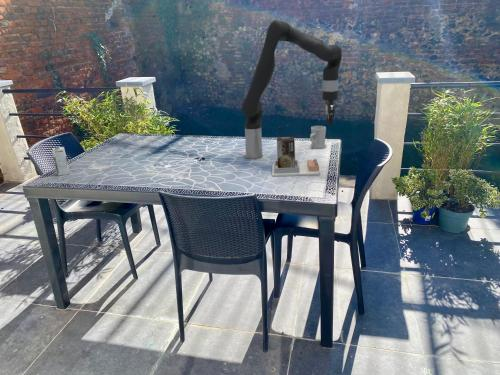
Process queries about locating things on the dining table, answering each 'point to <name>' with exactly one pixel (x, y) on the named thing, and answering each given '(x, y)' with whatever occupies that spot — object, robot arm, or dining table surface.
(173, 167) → the dining table surface
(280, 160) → the coffee box
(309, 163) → the pink rectangular block
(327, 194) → the dining table surface
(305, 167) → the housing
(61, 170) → the syrup box
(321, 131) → the cup
